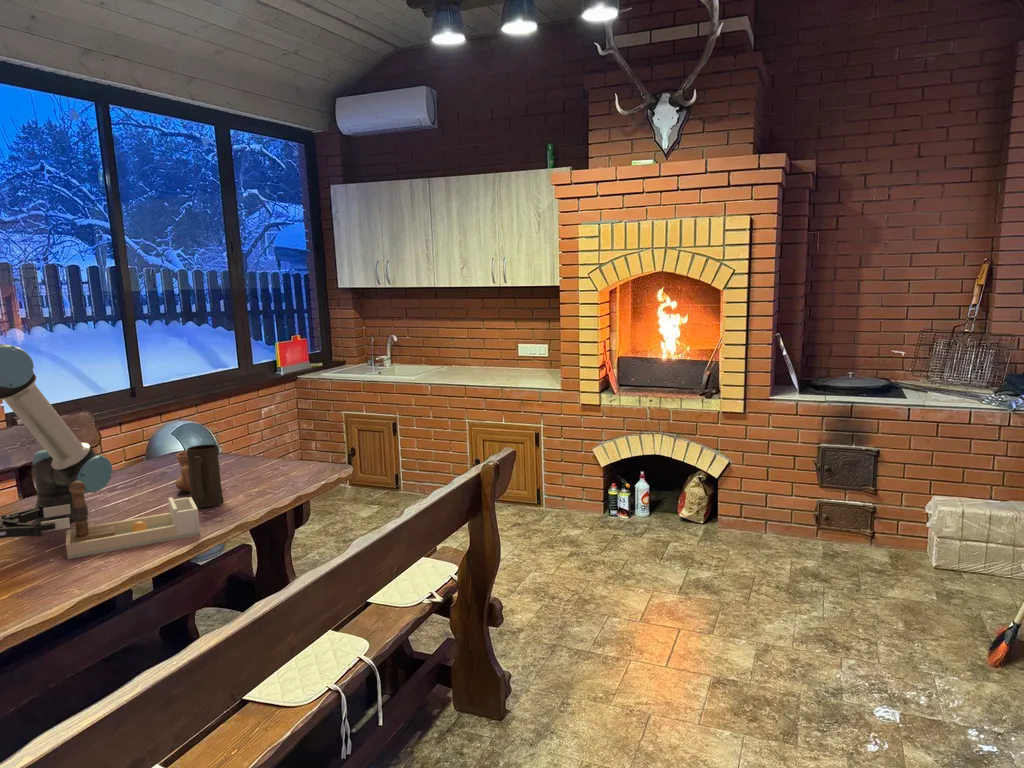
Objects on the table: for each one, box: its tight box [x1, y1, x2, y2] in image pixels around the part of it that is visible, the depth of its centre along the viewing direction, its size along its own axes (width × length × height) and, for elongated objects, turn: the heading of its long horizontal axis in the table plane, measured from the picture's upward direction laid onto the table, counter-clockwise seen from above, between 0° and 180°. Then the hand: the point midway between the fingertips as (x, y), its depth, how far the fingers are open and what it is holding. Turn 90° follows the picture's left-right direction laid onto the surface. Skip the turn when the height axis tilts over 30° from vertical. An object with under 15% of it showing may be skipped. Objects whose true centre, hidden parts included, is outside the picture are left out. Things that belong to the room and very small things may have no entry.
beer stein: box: [186, 444, 225, 508], centre depth 239 cm, size 15×11×20 cm
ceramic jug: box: [175, 449, 190, 493], centre depth 258 cm, size 18×14×14 cm
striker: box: [69, 481, 115, 543], centre depth 205 cm, size 5×10×19 cm, turn 121°
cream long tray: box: [65, 496, 201, 560], centre depth 211 cm, size 14×34×9 cm, turn 121°
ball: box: [132, 521, 147, 532], centre depth 212 cm, size 4×4×4 cm
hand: (70, 515), depth 201 cm, fingers open, 13 cm apart
